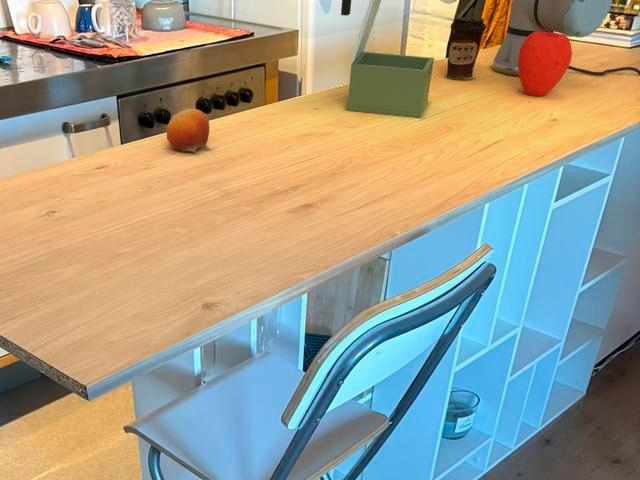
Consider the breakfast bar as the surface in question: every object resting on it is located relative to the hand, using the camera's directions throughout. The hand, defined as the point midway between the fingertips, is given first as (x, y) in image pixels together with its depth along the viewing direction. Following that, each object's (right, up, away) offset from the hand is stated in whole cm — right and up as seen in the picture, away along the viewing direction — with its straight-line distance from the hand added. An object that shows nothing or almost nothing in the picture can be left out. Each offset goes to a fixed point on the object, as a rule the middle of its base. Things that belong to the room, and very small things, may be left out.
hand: (345, 14), depth 172 cm
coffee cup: (+32, +4, +32) cm, 46 cm away
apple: (+48, -6, +22) cm, 53 cm away
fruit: (-32, -38, -19) cm, 53 cm away
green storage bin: (+10, -15, +9) cm, 20 cm away
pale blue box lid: (+6, -1, -2) cm, 6 cm away
